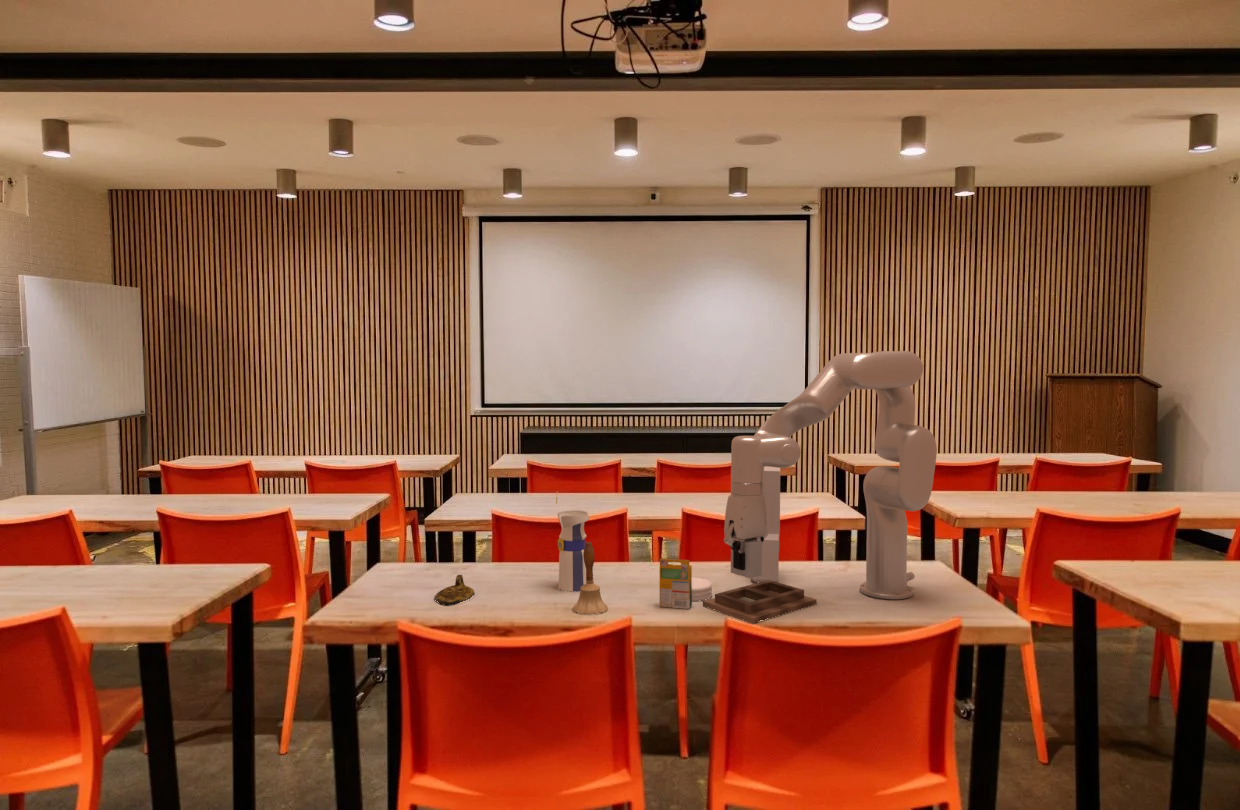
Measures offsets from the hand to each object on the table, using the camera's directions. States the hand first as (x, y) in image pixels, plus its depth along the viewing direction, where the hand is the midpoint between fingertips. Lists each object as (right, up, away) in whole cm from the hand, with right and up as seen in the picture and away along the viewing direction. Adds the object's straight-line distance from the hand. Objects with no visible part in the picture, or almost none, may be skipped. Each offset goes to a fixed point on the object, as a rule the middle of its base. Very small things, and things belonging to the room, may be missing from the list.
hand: (746, 566), depth 183 cm
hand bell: (-36, -10, +1) cm, 38 cm away
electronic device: (+9, -9, +27) cm, 30 cm away
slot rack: (+4, -10, +3) cm, 11 cm away
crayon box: (-16, -10, +3) cm, 19 cm away
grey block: (0, -2, 0) cm, 2 cm away
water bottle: (-41, -9, +19) cm, 46 cm away
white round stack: (-12, -10, +12) cm, 19 cm away
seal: (-70, -10, +12) cm, 72 cm away
